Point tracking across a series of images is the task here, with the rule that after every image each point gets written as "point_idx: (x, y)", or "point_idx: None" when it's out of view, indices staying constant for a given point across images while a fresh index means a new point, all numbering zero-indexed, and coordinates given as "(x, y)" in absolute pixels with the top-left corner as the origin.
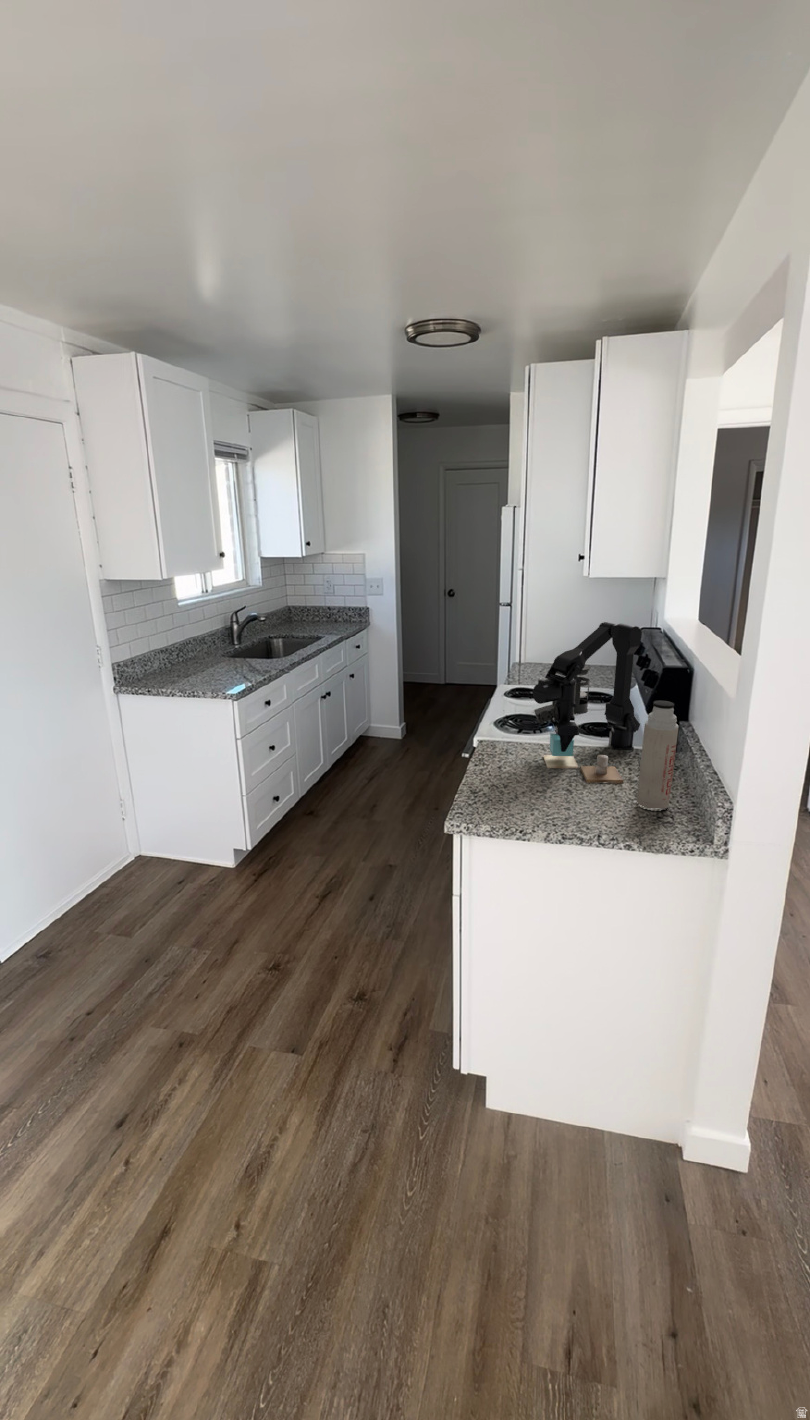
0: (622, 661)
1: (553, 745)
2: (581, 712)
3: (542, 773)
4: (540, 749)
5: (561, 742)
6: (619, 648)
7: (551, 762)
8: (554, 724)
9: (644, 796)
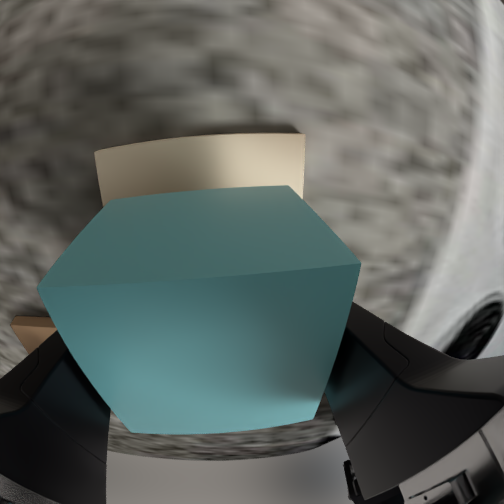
0: None
1: (70, 249)
2: None
3: (27, 128)
4: (412, 146)
5: (38, 353)
6: None
7: (162, 178)
8: (440, 410)
9: None
